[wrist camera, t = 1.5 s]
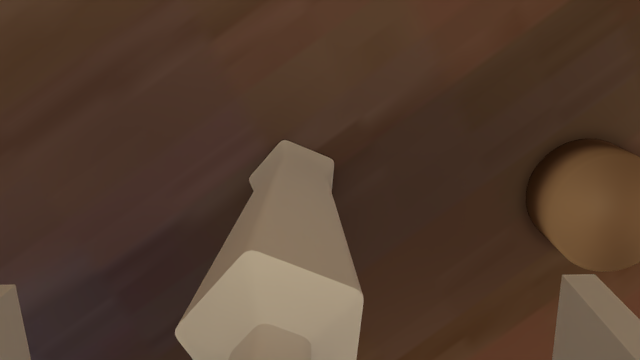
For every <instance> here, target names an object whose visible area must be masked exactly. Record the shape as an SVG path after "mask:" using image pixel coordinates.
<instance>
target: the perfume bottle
mask: <svg viewBox="0 0 640 360" xmlns="http://www.w3.org/2000/svg"><path fill="white" fill-rule="evenodd" d="M333 173H334V161H333V160H332V159H331V158H329V157H327V156H324V155H322V154H319V153H317V152H314V151H312V150H310V149H307V148H305V147H302V146H300V145H297V144H295V143H292V142H290V141H287V140H283V141H281V142H279V143H278V145H277V146H276V147H275V148H274V149H273V150H272V152H271V153H270V154H269V155H268V156H267V157H266V158H265V160H264V161H263V162H262V163H261V164H260V165H259V166H258V168H257V169H256V170H255V171H254V172H253V173H252V174H251V176H250V178H249V182H250V184H251V187H252V189H253V191H254V192H253V193H252V195H251V197H250V199H249V200H248V202H247V204H246V206H245V207H244V209H243V211H242V213H241V215H240V216H239V218H238V220H237V222H236V223H235V225H234V227H233V229H232V230H231V232H230V234H229V236H228V237H227V239H226V241H225V243H224V244H223V246H222V248H221V250H220V252H219V253H218V255H217V257H216V259H215V260H214V262H213V264H212V266H211V267H210V269H209V271H208V273H207V274H206V276H205V278H204V280H203V282H202V283H201V285H200V287H199V289H198V290H197V292H196V294H195V296H194V297H193V299H192V301H191V303H190V304H189V306H188V308H187V310H186V312H185V313H184V315H183V317H182V319H181V320H180V322H179V324H178V326H177V327H176V329H175V336H176V338H177V340H178V341H179V342H180V344H181V345H182V346H183V347H184V349H185V350H186V351H187V353H188V354H189V355H190V356H191V358H192V359H193V360H356V358H357V350H358V342H359V334H360V326H361V318H362V310H363V294H362V291H361V288H360V284H359V281H358V278H357V274H356V271H355V268H354V265H353V261H352V258H351V255H350V251H349V248H348V245H347V242H346V238H345V235H344V232H343V228H342V225H341V222H340V219H339V215H338V212H337V209H336V205H335V202H334V199H333V196H332V183H333Z"/></svg>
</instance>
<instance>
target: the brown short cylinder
mask: <svg viewBox="0 0 640 360" xmlns="http://www.w3.org/2000/svg"><path fill="white" fill-rule="evenodd" d="M526 206H527V210H528V214H529V216H530V218H531V220H532V222H533V224H534V225H535V226H536V227H537V229H538V230H539V231H540V232H541V233H542V234H543V235H544V236H545V237H546V238H547V239H548V240H549V241H550V242H551V243H552V244H553V245H554V246H555V247H556V248H557V249H558V250H559V251H560V252H561V253H562V254H563V255H564V256H565V257H566V258H567V259H568V260H569V261H571V262H572V263H574V264H575V265H577V266H579V267H582V268H584V269H587V270H591V271H598V272H609V271H617V270H622V269H625V268H628V267H631V266H633V265H635V264H637V263H639V262H640V157H639V156H637V155H634V154H632V153H630V152H628V151H626V150H624V149H622V148H620V147H618V146H616V145H614V144H611V143H609V142H606V141H603V140H598V139H580V140H575V141H571V142H568V143H565V144H563V145H561V146H559V147H557V148H556V149H554V150H553V151H551V152H550V153H549V154H548V155H546V156H545V157H544V158H543V159H542V160H541V161H540V163H539V164H538V165H537V166H536V168H535V170H534V171H533V173H532V175H531V177H530V179H529V182H528V186H527V191H526Z"/></svg>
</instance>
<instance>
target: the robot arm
mask: <svg viewBox="0 0 640 360" xmlns="http://www.w3.org/2000/svg"><path fill="white" fill-rule="evenodd" d="M0 360H31V357H30V352H29V348H28V343H27V338H26V333H25V328H24V324H23V319H22V314H21V309H20V305H19V300H18V295H17V290H16V285H0ZM552 360H640V320H639V319H638V318H637V317H636V316H635V315H634V314H633V313H632V312H631V311H630V309H629V308H628V307H627V306H626V305H625V304H624V303H623V302H622V301H621V300H620V299H619V298H618V297H617V296H616V295H615V294H614V293H613V292H612V291H611V290H610V289H609V288H608V287H607V286H606V285H605V284H604V283H603V282H602V281H601V280H600V279H599V278H598V277H597V276H596V275H595V274H580V275H562V280H561V288H560V297H559V306H558V314H557V323H556V332H555V340H554V349H553V358H552Z"/></svg>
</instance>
